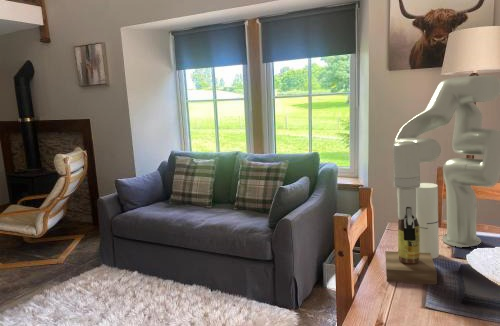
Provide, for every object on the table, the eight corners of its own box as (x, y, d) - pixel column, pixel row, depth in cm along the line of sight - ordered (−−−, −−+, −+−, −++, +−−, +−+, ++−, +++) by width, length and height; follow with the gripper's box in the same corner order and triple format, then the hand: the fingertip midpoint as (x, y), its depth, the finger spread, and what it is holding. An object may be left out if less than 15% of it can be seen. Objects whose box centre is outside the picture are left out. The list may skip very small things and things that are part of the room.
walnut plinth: (385, 262, 128) (385, 251, 127) (430, 264, 124) (430, 252, 123) (386, 281, 115) (386, 269, 114) (436, 284, 110) (436, 271, 110)
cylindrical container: (441, 258, 127) (440, 187, 123) (419, 258, 128) (417, 188, 124) (435, 250, 134) (434, 182, 130) (414, 250, 135) (412, 183, 131)
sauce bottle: (410, 266, 114) (408, 204, 112) (394, 260, 120) (391, 200, 117) (425, 261, 117) (423, 199, 115) (408, 255, 123) (406, 196, 120)
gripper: (392, 176, 124) (394, 225, 127) (394, 188, 108) (396, 244, 110) (417, 175, 121) (418, 225, 124) (423, 188, 105) (424, 245, 108)
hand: (408, 234), depth 117 cm, fingers open, 9 cm apart
